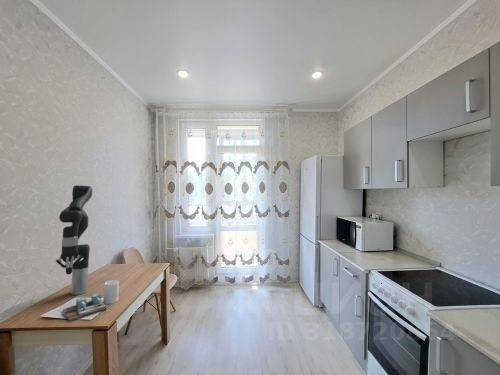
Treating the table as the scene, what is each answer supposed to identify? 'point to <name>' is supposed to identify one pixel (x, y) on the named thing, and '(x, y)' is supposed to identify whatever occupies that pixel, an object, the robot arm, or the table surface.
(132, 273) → the table surface
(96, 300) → the fixed leg
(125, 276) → the table surface
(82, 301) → the sliding leg
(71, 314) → the board
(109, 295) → the mug
